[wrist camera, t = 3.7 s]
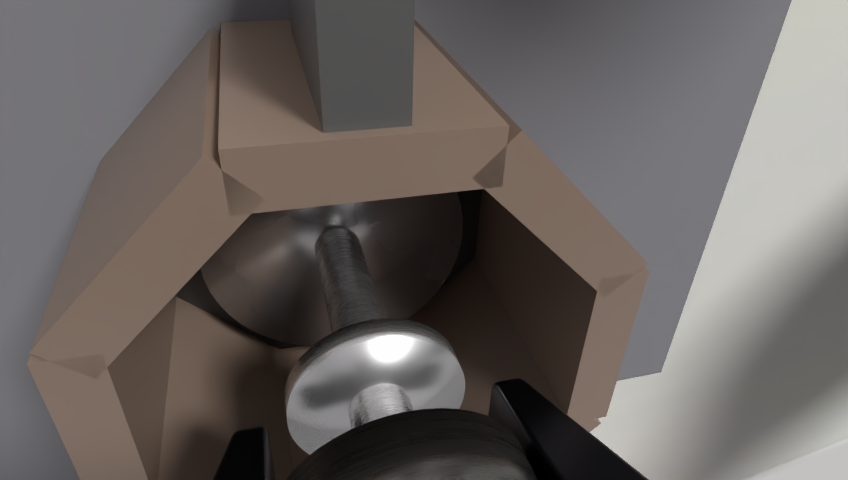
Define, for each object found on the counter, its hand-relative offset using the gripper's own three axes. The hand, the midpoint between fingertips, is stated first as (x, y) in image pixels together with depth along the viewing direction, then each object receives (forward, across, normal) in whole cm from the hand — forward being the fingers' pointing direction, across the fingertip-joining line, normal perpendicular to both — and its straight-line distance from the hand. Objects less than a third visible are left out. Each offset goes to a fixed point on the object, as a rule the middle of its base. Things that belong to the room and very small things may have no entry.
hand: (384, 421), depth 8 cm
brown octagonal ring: (+5, 0, -1) cm, 6 cm away
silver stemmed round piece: (+5, 0, 0) cm, 5 cm away
